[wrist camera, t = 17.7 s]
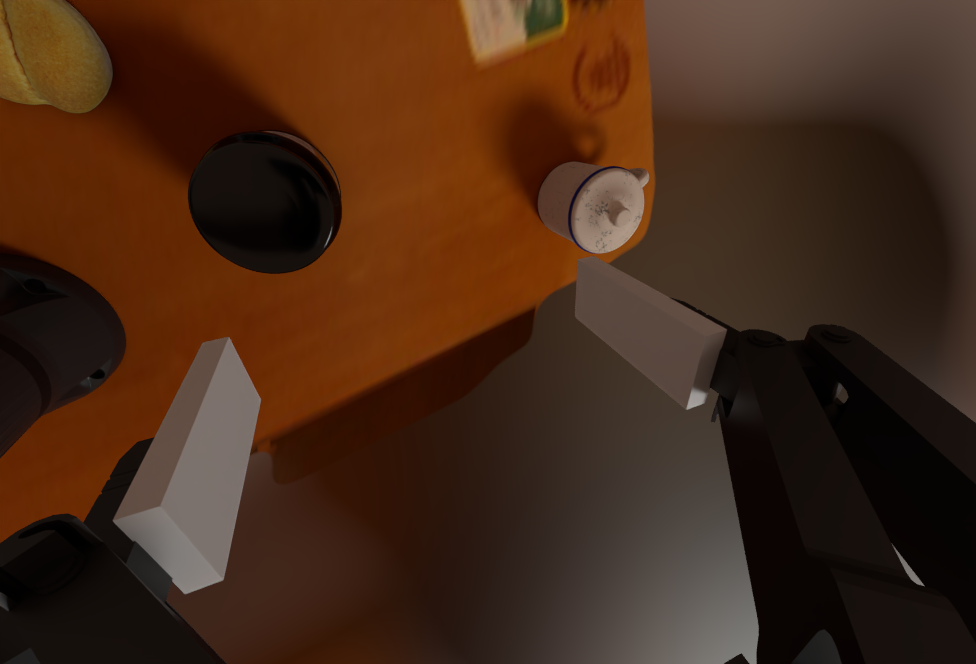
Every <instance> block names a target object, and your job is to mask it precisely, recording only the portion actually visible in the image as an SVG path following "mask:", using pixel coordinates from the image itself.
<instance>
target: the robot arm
mask: <svg viewBox="0 0 976 664" xmlns="http://www.w3.org/2000/svg"><path fill="white" fill-rule="evenodd" d="M575 306H576V307H575V317H576V318H577V319H578V320H579V321H580V322H582V323H583V324H584V325H585V326H586V327H588V328H589V329H590V330H591V331H592V332H594V333H595V334H596V335H597V336H598V337H600V338H601V339H602V340H603V341H604V342H606V343H607V344H608V345H609V346H610V347H612V348H613V349H614V350H615V351H617V352H618V353H619V354H620V355H621V356H622V357H624V358H625V359H626V360H627V361H628V362H630V363H631V364H632V365H633V366H634V367H636V368H637V369H638V370H639V371H641V372H642V373H643V374H644V375H645V376H646V377H648V378H649V379H650V380H651V381H652V382H654V383H655V384H656V385H657V386H658V387H660V388H661V389H662V390H663V391H664V392H666V393H667V394H668V395H669V396H670V397H672V398H673V399H674V400H675V401H676V402H678V403H679V404H680V405H681V406H683V407H684V408H685V409H686V410H687V409H689V408H692V407H695V406H698V405H701V404H703V403H705V402H706V399H707V396H708V392H709V389H710V388H712V389H713V390H715V391H716V392H717V393H719V396H718V399H717V402H716V405H715V408H714V411H713V415H712V419H711V422H715V420H716V417H718V416H719V418H720V424H721V429H722V434H723V440H724V445H725V450H726V455H727V461H728V465H729V471H730V476H731V481H732V487H733V492H734V497H735V502H736V507H737V513H738V517H739V523H740V528H741V534H742V539H743V544H744V550H745V555H746V560H747V565H748V570H749V576H750V581H751V586H752V592H753V597H754V601H755V607H756V612H757V618H758V625H759V637H758V644H757V664H976V423H975V422H973V421H972V420H971V419H970V418H968V417H967V416H966V415H964V414H963V413H962V412H960V411H959V410H958V409H957V408H955V407H954V406H953V405H951V404H950V403H948V402H947V401H946V400H945V399H943V398H942V397H941V396H940V395H938V394H937V393H935V392H934V391H933V390H932V389H930V388H929V387H928V386H926V385H925V384H924V383H922V382H921V381H920V380H919V379H917V378H916V377H915V376H913V375H912V374H911V373H909V372H908V371H907V370H905V369H904V368H903V367H901V366H900V365H899V364H898V363H896V362H895V361H893V360H892V359H891V358H890V357H888V356H887V355H886V354H884V353H883V352H882V351H881V350H879V349H878V348H877V347H875V346H874V345H873V344H871V343H870V342H869V341H867V340H866V339H865V338H863V337H862V336H861V335H859V334H857V333H856V332H854V331H851V330H848V329H846V328H845V327H841V326H837V325H825V324H820V325H814V326H812V327H810V328H809V329H808V332H807V334H806V336H805V339H804V340H794V341H787V340H786V339H784V338H783V337H781V336H779V335H777V334H775V333H772V332H769V331H764V330H755V329H754V330H753V329H751V330H750V329H749V330H744V331H741V332H739V331H737V330H736V329H734V328H732V327H730V326H728V325H726V324H725V323H723V322H721V321H719V320H717V319H715V318H713V317H712V316H710V315H706V313H704V312H702V311H701V310H697V309H696V308H695V307H693V306H691V305H689V304H688V303H686V302H683V301H680V300H677V299H673V298H670V297H667V296H665V295H663V294H662V293H660V292H658V291H656V290H654V289H653V288H651V287H649V286H647V285H645V284H643V283H641V282H640V281H638V280H636V279H634V278H632V277H631V276H629V275H627V274H625V273H623V272H622V271H620V270H618V269H616V268H614V267H613V266H611V265H609V264H607V263H605V262H603V261H602V260H600V259H598V258H596V257H594V256H592V257H587V258H583V259H578V266H577V286H576V305H575ZM125 348H126V337H125V332H124V328H123V325H122V323H121V321H120V319H119V317H118V315H117V314H116V312H115V311H114V309H113V308H112V307H111V305H110V304H109V303H108V302H107V301H106V300H105V299H104V298H103V297H102V296H101V295H100V294H99V293H98V292H97V291H95V290H94V289H93V288H92V287H90V286H89V285H87V284H86V283H84V282H83V281H81V280H80V279H78V278H76V277H75V276H73V275H71V274H69V273H67V272H65V271H63V270H61V269H58V268H56V267H54V266H51V265H48V264H46V263H43V262H39V261H36V260H33V259H29V258H25V257H20V256H15V255H8V254H0V458H1V457H2V456H3V455H4V454H5V453H6V452H7V451H8V450H9V449H10V447H11V446H12V445H13V444H14V443H15V442H16V441H17V440H18V439H19V438H20V437H21V436H22V435H23V434H24V433H25V432H26V431H27V430H28V429H29V428H30V427H31V426H32V424H33V423H34V422H35V421H36V420H37V419H38V418H40V417H41V416H43V415H45V414H47V413H49V412H51V411H53V410H56V409H58V408H60V407H62V406H64V405H67V404H69V403H71V402H73V401H75V400H77V399H80V398H82V397H84V396H86V395H88V394H89V393H91V392H92V391H94V390H95V389H97V388H98V387H99V386H101V385H102V384H103V383H104V382H105V381H106V380H107V379H108V378H109V376H110V375H111V374H112V373H113V372H114V371H115V370H116V368H117V367H118V366H119V364H120V363H121V361H122V359H123V356H124V353H125ZM842 387H844V388H845V389H846V391H847V393H848V396H849V398H848V399H847V401H846V402H845V403H842V402H841V401H840V400H839V399H838V398H837V396H838V394H839V393H840V391H841V389H842ZM260 403H261V399H260V397H259V395H258V393H257V391H256V389H255V387H254V385H253V383H252V381H251V379H250V377H249V375H248V373H247V371H246V370H245V368H244V366H243V364H242V362H241V360H240V358H239V356H238V354H237V352H236V350H235V348H234V346H233V344H232V342H231V340H230V338H229V337H226V338H221V339H217V340H212V341H208V342H203V343H202V345H201V347H200V349H199V351H198V353H197V355H196V357H195V359H194V361H193V363H192V365H191V367H190V369H189V371H188V373H187V375H186V377H185V379H184V381H183V382H182V384H181V386H180V388H179V390H178V392H177V394H176V396H175V398H174V400H173V402H172V404H171V406H170V408H169V410H168V412H167V414H166V416H165V418H164V420H163V422H162V424H161V426H160V428H159V430H158V432H157V434H156V436H155V437H154V438H150V439H146V440H143V441H139V442H137V443H136V444H135V445H134V446H133V447H132V448H131V449H130V450H129V451H128V452H127V453H126V454H125V455H124V456H123V457H122V458H121V459H120V460H119V461H118V463H117V465H116V467H115V468H114V470H113V472H112V474H111V475H110V480H108V481H107V482H106V484H105V486H104V488H103V489H102V491H101V492H102V494H101V495H99V496H98V498H97V500H96V501H95V503H94V505H93V507H92V508H91V510H90V512H89V514H88V515H87V517H86V519H85V521H84V522H83V523H82V522H81V521H80V520H79V519H78V518H77V517H75V516H73V515H70V514H59V515H52V516H50V517H47V518H44V519H41V520H39V521H36V522H34V523H32V524H30V525H28V526H26V527H25V528H23V529H21V530H19V531H17V532H15V533H14V534H13V535H11V536H10V537H8V538H7V539H6V540H4V541H3V542H2V543H0V606H1V607H0V664H227V663H225V661H224V660H223V659H222V658H221V657H220V656H219V655H218V654H217V653H216V652H215V651H214V650H213V649H212V648H211V647H210V646H209V645H208V644H207V643H206V641H204V639H203V638H202V637H201V636H200V635H199V634H198V633H197V632H196V631H195V630H194V629H193V628H192V627H191V626H190V625H189V624H188V623H187V622H186V621H185V619H184V618H183V617H182V616H181V615H180V614H179V613H178V612H177V611H176V610H175V609H174V608H173V607H172V606H171V605H170V604H169V603H168V602H167V601H166V598H167V595H168V592H169V589H170V586H171V582H172V581H173V582H174V584H176V586H178V588H179V589H180V590H181V591H182V592H184V594H187V593H189V592H192V591H195V590H198V589H200V588H203V587H205V586H209V585H211V584H214V583H217V582H219V581H222V580H223V579H224V575H225V570H226V565H227V560H228V556H229V551H230V545H231V541H232V536H233V532H234V527H235V522H236V518H237V513H238V508H239V503H240V498H241V494H242V488H243V484H244V479H245V474H246V470H247V465H248V460H249V455H250V450H251V446H252V441H253V436H254V431H255V427H256V422H257V417H258V412H259V407H260ZM891 543H892V544H893V546H894V547H895V548H896V550H897V551H898V552H899V553H900V555H901V556H902V557H903V559H904V560H905V561H906V562H907V564H908V565H909V566H910V567H911V569H912V570H913V571H914V572H915V574H916V575H917V576H918V578H919V579H920V580H921V582H922V583H923V584H924V585H925V586H921V585H918V584H916V583H915V582H913V581H912V580H911V579H910V577H909V576H908V574H907V573H906V571H905V569H904V567H903V565H902V563H901V562H900V559H899V557H898V555H897V554H896V552H895V550H894V548H893V546H892V544H891ZM724 664H749V663H748V661H747V660H746V659H745V657H744V656H743V655H742V654H739V655H737V656H736V657H734V658H733V659H731V660H729V661H727V662H726V663H724Z"/></svg>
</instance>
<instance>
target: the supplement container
mask: <svg viewBox="0 0 976 664" xmlns="http://www.w3.org/2000/svg"><path fill="white" fill-rule="evenodd" d="M188 203H189V209H190V213H191V216H192V219H193V221H194V223H195V225H196V227H197V229H198V231H199V232H200V234H201V235H202V237H203V238H204V239H205V240H206V242H207V243H208V244H209V245H210V246H211V247H212V248H213V249H214V250H215V251H216V252H218V253H219V254H220V255H221V256H223V257H224V258H226V259H227V260H229V261H231V262H233V263H234V264H236V265H239V266H241V267H243V268H246V269H249V270H252V271H256V272H261V273H269V274H280V273H288V272H293V271H297V270H299V269H302V268H304V267H306V266H308V265H310V264H311V263H313V262H314V261H316V260H317V259H318V258H319V257H320V256H321V255H322V254H323V253H324V252H325V250H326V249H327V248H328V247H329V246H330V245H331V243H332V242H333V241H334V239H335V237H336V235H337V233H338V231H339V228H340V224H341V218H342V203H341V190H340V185H339V181H338V178H337V176H336V173H335V171H334V169H333V167H332V166H331V164H330V163H329V161H328V160H327V159H326V157H325V156H324V155H323V154H322V153H321V152H320V151H319V150H318V149H317V148H316V147H314V146H313V145H312V144H310V143H309V142H307V141H306V140H304V139H302V138H300V137H298V136H296V135H294V134H291V133H287V132H283V131H278V130H259V131H249V132H242V133H237V134H233V135H230V136H228V137H226V138H224V139H222V140H220V141H218V142H217V143H215V144H214V145H213V146H212V147H211V148H210V149H209V150H208V151H207V152H206V153H205V154H204V156H203V157H202V159H201V161H200V162H199V164H198V165H197V167H196V168H195V170H194V172H193V174H192V176H191V179H190V183H189V188H188Z"/></svg>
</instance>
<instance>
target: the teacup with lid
mask: <svg viewBox="0 0 976 664" xmlns="http://www.w3.org/2000/svg"><path fill="white" fill-rule="evenodd" d="M648 180H649V174H648V172H647V170H645V169H642V168H633V169H628V170H627V169H625V168H622V167H617V166H611V167H603V166H597V165H592V164H586V163H581V162H567V163H564V164H562V165H560V166H558V167H556V168H555V169H554V170H553V171H552V172H551V173H550V174H549V175H548V176H547V177H546V179H545V180H544V182H543V184H542V186H541V188H540V191H539V196H538V211H539V215H540V218H541V220H542V221H543V223H544V224H545V225H546V227H547V228H549V229H550V230H552V231H553V232H555V233H557V234H559V235H561V236H563V237H565V238H567V239H568V240H570V241H572V242H574V243H576V244H577V246H579V247H580V248H581V249H583V250H584V251H587V252H590V253H606V252H610V251H612V250H614V249H617V248H618V247H620V246H621V245H623V244H624V243H625V242H626V241H627V240H628V239H629V238H630V237H631V236H632V235H633V233H634V232H635V230H636V229H637V227H638V225H639V223H640V220H641V217H642V214H643V209H644V194H643V190H642V187H643V186H645V185H646V184H647V182H648Z"/></svg>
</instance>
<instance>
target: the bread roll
mask: <svg viewBox="0 0 976 664" xmlns="http://www.w3.org/2000/svg"><path fill="white" fill-rule="evenodd" d="M112 77H113V70H112V63H111V59H110V57H109V54H108V52H107V50H106V47H105V46H104V44H103V43H102V41H101V40H100V38H99V37H98V35H97V33H96V32H95V30H94V29H93V28H92V26H91V25H90V24H89V23H88V21H87V20H86V19H85V18H84V17H83V16H82V15H81V14H80V13H79V12H78V11H77V10H76V9H75V8H74V7H73V6H71V5H70V4H69V3H68V2H67V1H66V0H0V97H1V98H3V99H7V100H10V101H13V102H17V103H23V104H33V105H38V104H49V105H53V106H55V107H57V108H59V109H61V110H63V111H66V112H71V113H84V112H88V111H90V110H92V109H94V108H95V107H96V106H97V105H98V104H99V103H100V102H101V101H102V100H103V99H104V98H105V96H106V94H107V93H108V90H109V88H110V85H111V82H112Z"/></svg>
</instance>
